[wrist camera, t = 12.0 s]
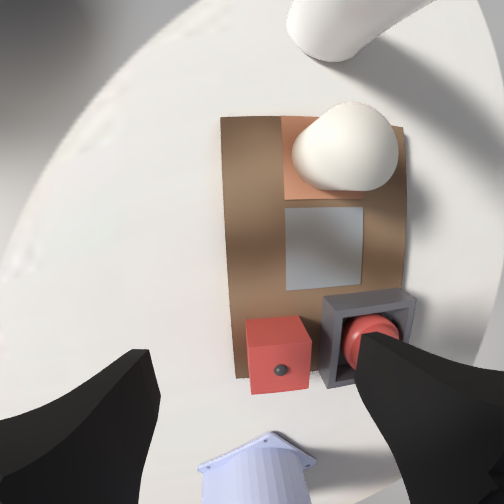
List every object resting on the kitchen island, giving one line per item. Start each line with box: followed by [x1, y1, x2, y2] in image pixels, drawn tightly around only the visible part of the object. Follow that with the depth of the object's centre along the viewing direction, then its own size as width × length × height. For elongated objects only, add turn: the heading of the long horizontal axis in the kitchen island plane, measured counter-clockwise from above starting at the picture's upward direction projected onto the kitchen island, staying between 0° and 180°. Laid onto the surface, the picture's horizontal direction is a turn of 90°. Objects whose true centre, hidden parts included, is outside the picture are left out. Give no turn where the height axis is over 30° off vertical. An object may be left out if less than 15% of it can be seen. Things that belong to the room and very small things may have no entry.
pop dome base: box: [318, 287, 416, 389], centre depth 17 cm, size 6×6×2 cm
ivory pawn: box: [292, 102, 399, 191], centre depth 13 cm, size 4×4×5 cm
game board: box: [220, 116, 407, 378], centre depth 17 cm, size 17×12×1 cm
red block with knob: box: [245, 315, 312, 395], centre depth 16 cm, size 3×3×4 cm
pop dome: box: [340, 312, 399, 370], centre depth 16 cm, size 4×4×3 cm
